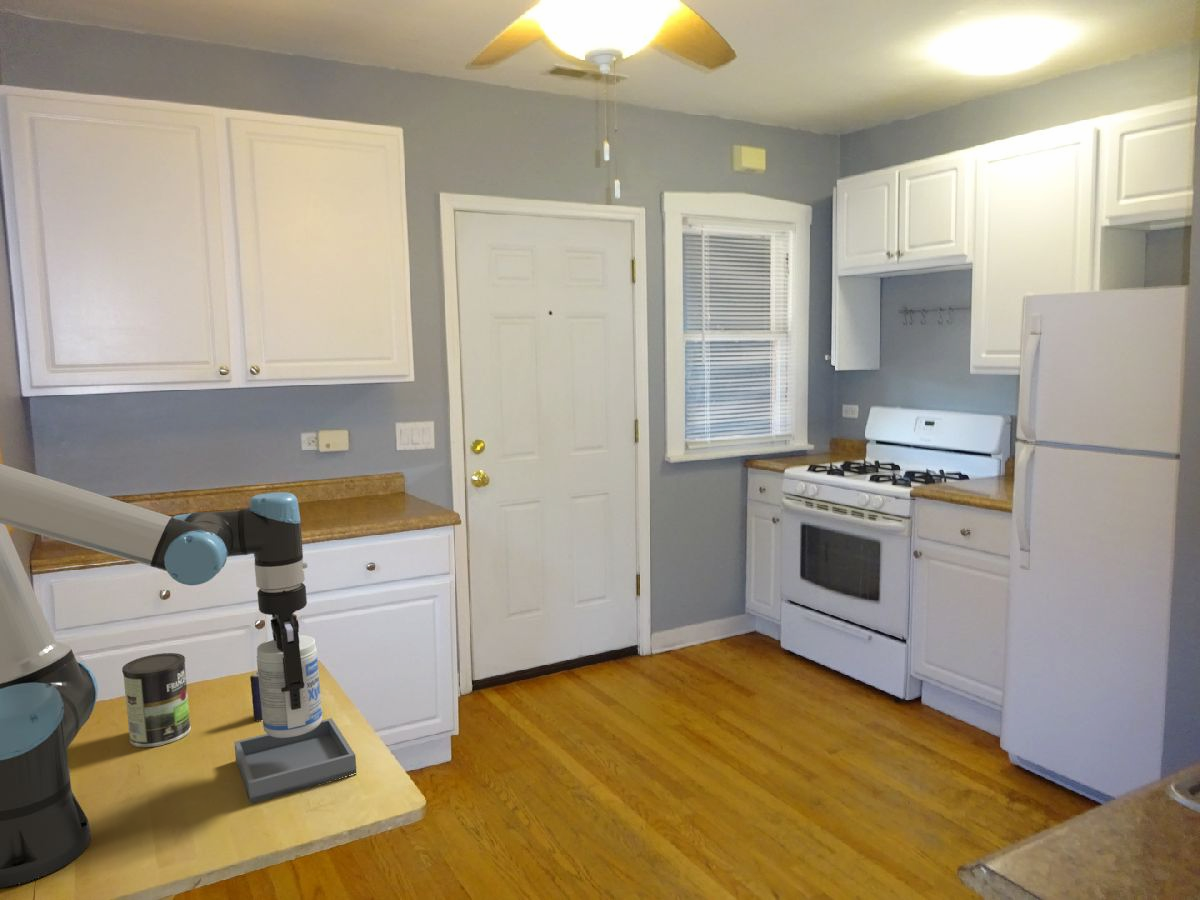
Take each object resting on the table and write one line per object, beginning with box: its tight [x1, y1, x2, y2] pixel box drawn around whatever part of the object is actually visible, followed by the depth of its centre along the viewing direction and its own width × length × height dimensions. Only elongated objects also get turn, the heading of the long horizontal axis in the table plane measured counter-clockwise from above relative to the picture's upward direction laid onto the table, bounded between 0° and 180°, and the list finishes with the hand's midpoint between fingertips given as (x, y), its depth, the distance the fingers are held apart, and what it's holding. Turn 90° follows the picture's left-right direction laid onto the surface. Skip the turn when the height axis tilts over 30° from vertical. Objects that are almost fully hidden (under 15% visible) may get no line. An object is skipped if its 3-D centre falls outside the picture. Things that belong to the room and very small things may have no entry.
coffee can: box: [121, 652, 192, 748], centre depth 155 cm, size 10×10×14 cm
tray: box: [234, 717, 357, 805], centre depth 142 cm, size 17×17×4 cm
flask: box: [249, 671, 262, 722], centre depth 163 cm, size 9×3×11 cm, turn 136°
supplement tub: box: [256, 634, 323, 738], centre depth 140 cm, size 10×10×15 cm
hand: (292, 713), depth 141 cm, fingers closed on supplement tub, 10 cm apart
